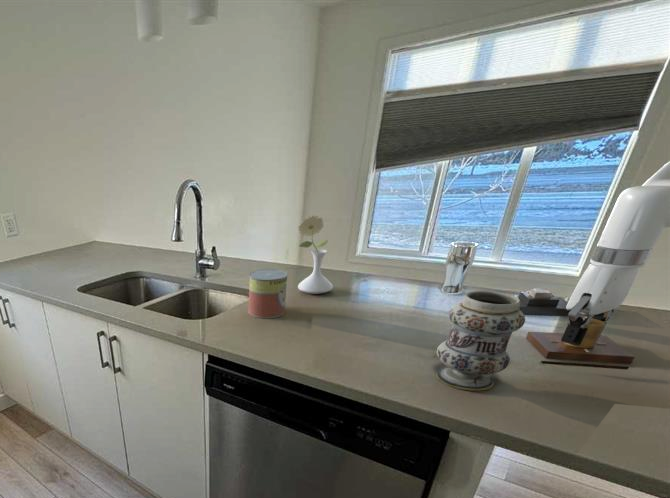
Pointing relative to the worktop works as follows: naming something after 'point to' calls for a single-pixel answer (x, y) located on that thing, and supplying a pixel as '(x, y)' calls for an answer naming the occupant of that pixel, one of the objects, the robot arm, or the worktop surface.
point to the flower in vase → (316, 280)
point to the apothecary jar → (479, 339)
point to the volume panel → (579, 351)
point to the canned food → (267, 293)
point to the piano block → (542, 305)
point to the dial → (591, 333)
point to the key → (540, 293)
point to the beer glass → (458, 266)
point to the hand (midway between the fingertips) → (579, 339)
